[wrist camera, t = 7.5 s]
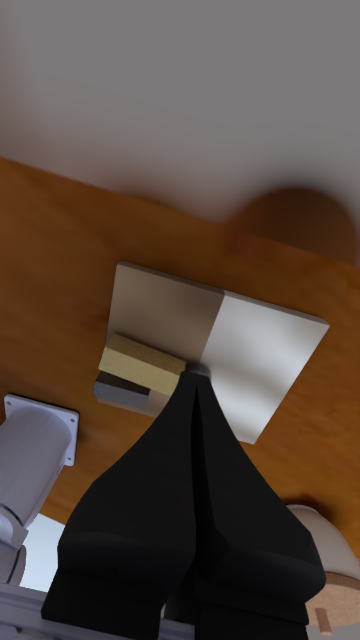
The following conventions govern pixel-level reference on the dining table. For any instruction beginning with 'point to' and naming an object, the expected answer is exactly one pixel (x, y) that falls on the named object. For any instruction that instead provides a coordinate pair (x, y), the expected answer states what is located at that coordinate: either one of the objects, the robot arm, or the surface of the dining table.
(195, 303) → the door edge board
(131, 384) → the keeper block
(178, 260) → the dining table surface
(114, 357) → the bar
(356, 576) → the lidded jar
